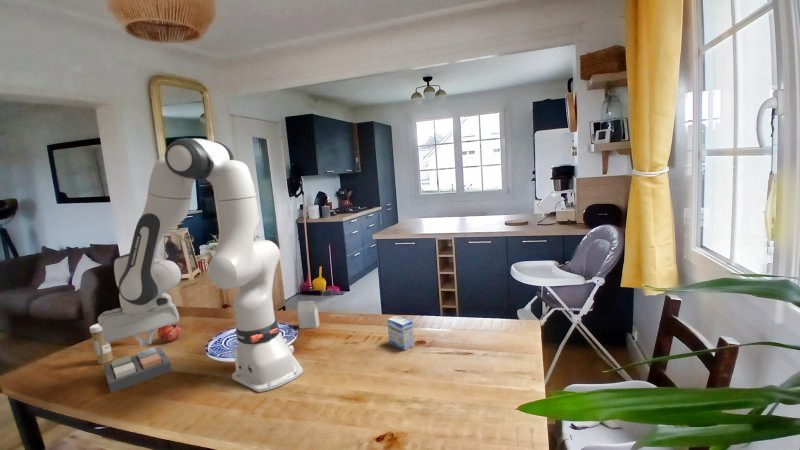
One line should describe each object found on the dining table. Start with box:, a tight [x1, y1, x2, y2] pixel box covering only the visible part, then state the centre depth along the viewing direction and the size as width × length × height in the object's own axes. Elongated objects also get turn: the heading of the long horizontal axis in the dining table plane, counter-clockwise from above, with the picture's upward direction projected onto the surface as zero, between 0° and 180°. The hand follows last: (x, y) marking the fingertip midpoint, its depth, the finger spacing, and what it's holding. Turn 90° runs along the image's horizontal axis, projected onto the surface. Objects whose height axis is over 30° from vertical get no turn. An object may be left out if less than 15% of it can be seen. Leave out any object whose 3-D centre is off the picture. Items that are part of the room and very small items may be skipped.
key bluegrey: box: [136, 347, 157, 362], centre depth 129 cm, size 5×5×2 cm
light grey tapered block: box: [296, 300, 320, 330], centre depth 149 cm, size 4×7×10 cm, turn 82°
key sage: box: [110, 354, 132, 371], centre depth 125 cm, size 5×5×2 cm
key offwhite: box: [113, 362, 136, 379], centre depth 120 cm, size 5×5×2 cm
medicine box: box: [386, 315, 415, 351], centre depth 127 cm, size 8×4×9 cm, turn 42°
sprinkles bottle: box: [89, 323, 114, 365], centre depth 134 cm, size 5×5×13 cm
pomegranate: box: [157, 323, 181, 343], centre depth 148 cm, size 7×7×10 cm
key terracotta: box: [140, 354, 162, 369], centre depth 124 cm, size 5×5×2 cm
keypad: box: [103, 347, 173, 394], centre depth 125 cm, size 16×16×3 cm
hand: (146, 344), depth 123 cm, fingers closed
